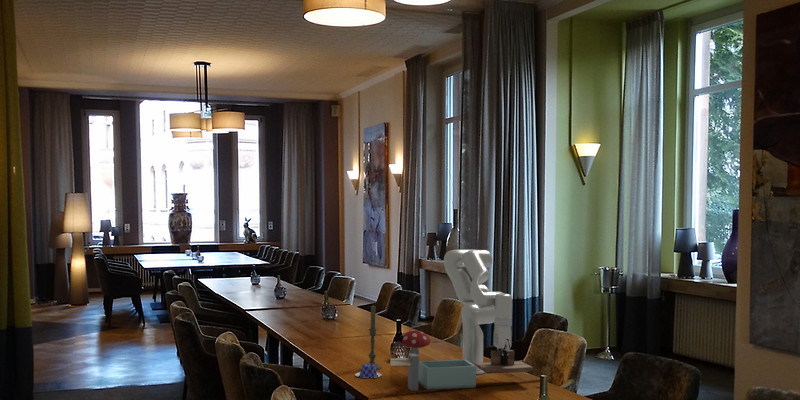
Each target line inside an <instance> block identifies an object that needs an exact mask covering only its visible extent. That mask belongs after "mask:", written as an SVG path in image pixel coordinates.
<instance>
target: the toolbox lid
mask: <svg viewBox="0 0 800 400" xmlns="http://www.w3.org/2000/svg"><path fill="white" fill-rule="evenodd" d="M503 352H504V350H503ZM501 356H502V355H501V350H490V361H483V362H478V363H474V365H475V366H476V367H478V368H479V369H481V370H482V371H484V372H485V373H486V374H508V373H509V374H510V373H529V372H530V371H534V367H533V366H531V365H530V364H527V363H526V362H524V361H521V360H515V350H513V349H510V352H508V364H507V365H501V364H500V360H501Z"/></svg>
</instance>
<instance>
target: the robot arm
mask: <svg viewBox="0 0 800 400" xmlns="http://www.w3.org/2000/svg"><path fill="white" fill-rule="evenodd" d="M492 264H493V256H492V254H491V252H489V251H488V250H487V249H452V250H448V251H447V252H446V253H445V254H444V257H443V265H444V266H443V267H444V269H445V270H444V271H445V273H446V274H447V276H448V277H449V279H450V281H451V283H452V285H453V289H454V291H455V294H456V297H457V299H458V301H459V303H460V304H461V305H464V306H463V307H462V309H461V312H460V314H461V315H460V316H461V323H462V360H467V361H469V362H470V363H472V364H473V365H474V363H478V362H484V331H483V330H482V328H481V326H480V325H485V324H486V325H487V324H493V323H494V327H493V328H494V329H493V341H492V342H493V343H492V345H493V346H494V347H495V348H496V349H497V350H501V355H502V356H501V360H500V364H501V365H507V364H508V352H510V350H511V347H512V329H511V327H512V326H513V324H512V323H513V322H512V321H513V320H512V319H513V317H512V316H513V315H512V314H513V297H512V295H511V294H509V293H504V292H502V291H490V289H489V288H488V287H487V286H486V285H485V284H484V283H485V282H486V281H488V280H489V278H490V271H489V270H488V268H489V267H491V266H492ZM463 268H465V269H466V271H467V272H468V273H467V272H465V270H464V269H463ZM470 279H471V280H470ZM503 350H504V352H503ZM485 373H486V372H484V371H482V370H481V369H479V368H478V367H476V375H482V374H485Z"/></svg>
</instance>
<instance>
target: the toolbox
mask: <svg viewBox="0 0 800 400" xmlns="http://www.w3.org/2000/svg"><path fill="white" fill-rule="evenodd" d="M407 358H411V365H407V389H409V390H410V391H411V392H416V391H419V384H420V385H421V386H422V387H424V389H425V390H427V391H428V390H429V391H430V390H448V389H469V388H470V389H471V388H477V374H476V366H475V365H473V364H472V363H470V362H469V361H467V360H463V359H447V360H446V359H445V360H443V359H442V360H420V355H419V356H418V355H417V354H415V353H414V354H410V353H408V357H407Z"/></svg>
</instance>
